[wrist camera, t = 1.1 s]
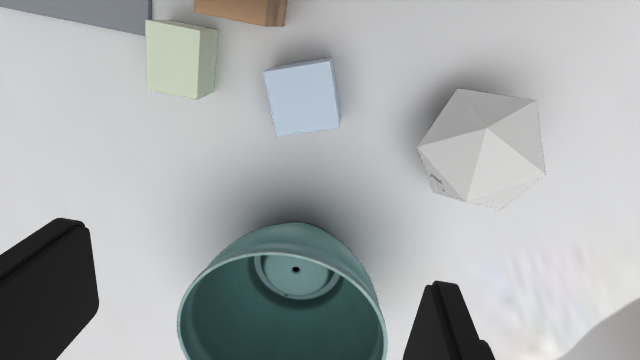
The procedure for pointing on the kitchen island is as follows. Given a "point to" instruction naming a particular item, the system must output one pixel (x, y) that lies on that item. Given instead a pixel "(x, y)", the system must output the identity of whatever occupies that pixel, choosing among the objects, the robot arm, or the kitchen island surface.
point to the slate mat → (91, 12)
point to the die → (484, 148)
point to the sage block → (180, 58)
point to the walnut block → (245, 10)
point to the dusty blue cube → (303, 97)
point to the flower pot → (283, 301)
